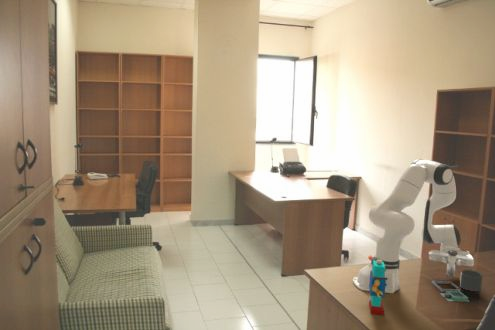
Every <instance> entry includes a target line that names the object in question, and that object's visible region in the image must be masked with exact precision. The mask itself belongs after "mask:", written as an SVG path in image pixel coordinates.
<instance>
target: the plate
mask: <svg viewBox="0 0 495 330" xmlns="http://www.w3.org/2000/svg"><path fill="white" fill-rule="evenodd" d="M439 294H440V295H441V296H442V297H444V299H446V300H447V301H448V302H470V300H469V297H468V296H467V295H465V294H464V293H463V292H460V291H446V292H443V293H441V292H440V293H439Z"/></svg>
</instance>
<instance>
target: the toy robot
mask: <svg viewBox="0 0 495 330" xmlns="http://www.w3.org/2000/svg"><path fill="white" fill-rule="evenodd" d="M379 256H380V255H379ZM385 271H386V268H385V265H384V262H382V260H377V261H373V266H372V270H371V271H370V282H369V289H370V291H369V294H370V300H369V301H368V302H369V303H368V306H369V307H368V308H369V312H370V314H373V315H382V316H384V315H385V309H384V306H383V302H382V298H385V286H386V279H385Z"/></svg>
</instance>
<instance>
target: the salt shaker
mask: <svg viewBox="0 0 495 330" xmlns="http://www.w3.org/2000/svg"><path fill="white" fill-rule="evenodd" d="M457 255H458V252H457V251H453V250H448V264H446V272H445V275H446V276H448V277H455V272H456V266H457V265H456V256H457Z"/></svg>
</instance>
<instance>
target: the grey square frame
mask: <svg viewBox="0 0 495 330" xmlns="http://www.w3.org/2000/svg"><path fill="white" fill-rule="evenodd" d="M431 284H432V285H433V286H435V288H437V289H438V290H439V291H440V292H443V293H446V291H459V288H460V287H459V286H458V285H456V284H455V283H453V282H452V281H451V280H450V281H449V280H431ZM438 284H439V285H438ZM443 284H444V285H451V286H452V287H453V288H442V287H441V286H440V285H443Z"/></svg>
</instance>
